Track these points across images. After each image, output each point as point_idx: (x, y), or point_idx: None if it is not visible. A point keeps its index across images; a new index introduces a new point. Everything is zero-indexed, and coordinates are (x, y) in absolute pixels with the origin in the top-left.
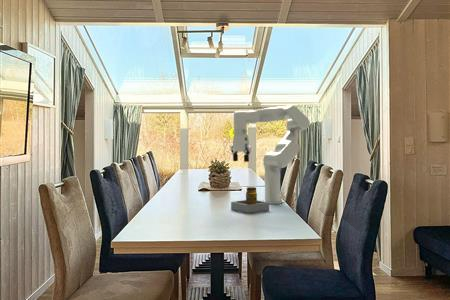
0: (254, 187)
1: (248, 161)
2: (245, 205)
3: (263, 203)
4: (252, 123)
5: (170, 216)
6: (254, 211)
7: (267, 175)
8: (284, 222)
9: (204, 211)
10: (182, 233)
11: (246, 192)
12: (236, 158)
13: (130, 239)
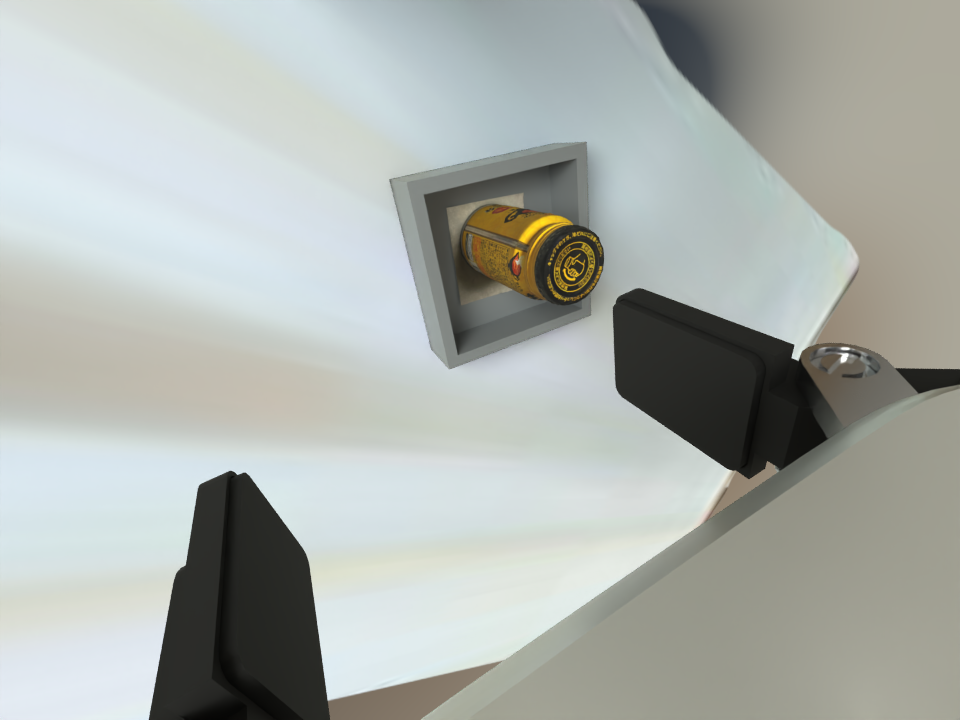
0: (577, 237)
1: (632, 295)
2: (570, 320)
3: (586, 195)
4: None
5: (466, 591)
6: None
7: None
8: (744, 236)
9: (421, 482)
10: (661, 531)
11: (535, 297)
12: (270, 556)
13: None
